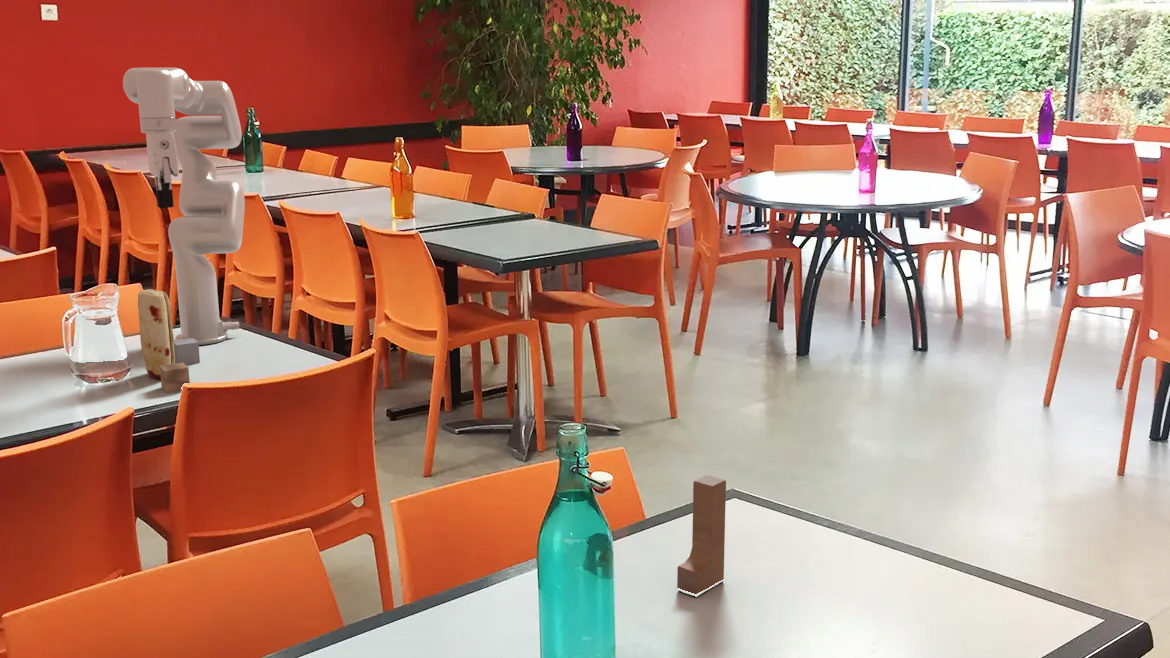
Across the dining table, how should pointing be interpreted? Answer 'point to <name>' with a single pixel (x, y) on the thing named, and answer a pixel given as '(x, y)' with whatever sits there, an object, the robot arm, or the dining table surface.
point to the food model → (155, 330)
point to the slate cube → (186, 351)
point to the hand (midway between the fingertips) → (165, 207)
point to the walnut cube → (174, 376)
